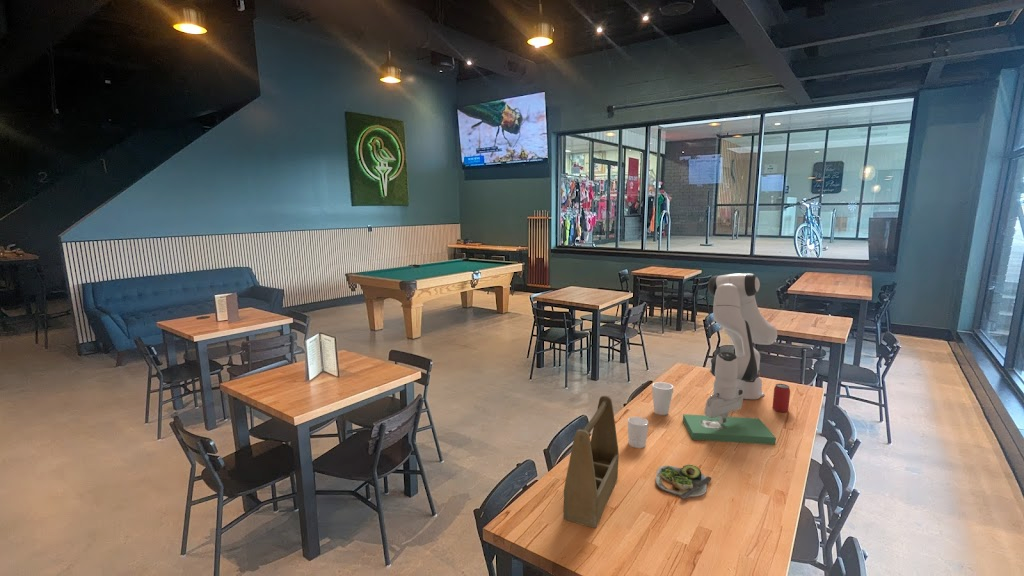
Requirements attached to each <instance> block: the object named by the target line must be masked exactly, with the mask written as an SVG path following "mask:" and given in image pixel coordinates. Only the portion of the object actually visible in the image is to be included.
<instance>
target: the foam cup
mask: <svg viewBox="0 0 1024 576" xmlns="http://www.w3.org/2000/svg"><path fill="white" fill-rule="evenodd" d="M651 386H652V387H651V392H652V400H653V401H652V402H653V411H654V413H655V414H657V415H660V416H666V415H669V413H670V407H671V402H672V397H673V393H674V385H673V384H671V383H669V382H665V381H657V382H653V383H652V385H651Z"/></svg>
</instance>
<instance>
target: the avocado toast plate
mask: <svg viewBox="0 0 1024 576" xmlns="http://www.w3.org/2000/svg"><path fill="white" fill-rule="evenodd" d="M663 480H664V481H666V482H668V483H671V484H672V486H673V488H674V489H672V488H668V487H666V486H665V485H664V483H663ZM710 481H712V478H711V476H705V475H704V474H703V473H702V472H701V469H700V468H699V467H698V466H697V465H694V464H685V465H683V466H682V467H678V466H673V465H663V466H660V467H658V469H657V471H656V476H655V484H656V486H657V487H658V488H659V489H661V490H662V491H663V492H665V493H667V494H669V495H673V496H678V497H679V498H680V499H682V500H685V499H688V498H697V497H698V498H699V497H701V496H704V495H705V494H706V492H707V484H708V483H710Z"/></svg>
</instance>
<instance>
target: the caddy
mask: <svg viewBox="0 0 1024 576" xmlns="http://www.w3.org/2000/svg"><path fill="white" fill-rule="evenodd" d="M591 432H592V433H591ZM590 433H591V436H590ZM590 437H591V438H590ZM618 443H619V442H618V438H617V428H616V421H615V414H614V406H613V399H612V398H611V397H610V396H609V395H601V396H600V398H599V401H598V404H597V409H596V411H595V413H594V415H593V416H592V418H590V420H589V421H588V423H587V424H586V426H585V427H584V429H581V428H580V429H577V430H576V432H575V434H574V437H573V442H572V446H571V447H572V448H571V450H570V458H569V463H568V466H567V467H568V468H567V472H566V476H565V477H566V478H565V483H564V489H563V517H562V518H563V520H565V521H568V522H572V523H576V524H579V525H582V526H586V527H590V528H593V529H596V528H597V527H598V525H599V522H600V520H601V517H602V515H603V512H604V510H605V508H606V505H607V503H608V501H609V499H610V496H611V494H612V493H613V490H614V487H615V485H616V482H617V481H618V476H619V457H620V456H619V446H618Z"/></svg>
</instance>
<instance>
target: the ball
mask: <svg viewBox="0 0 1024 576" xmlns="http://www.w3.org/2000/svg"><path fill="white" fill-rule="evenodd" d="M709 427H719V425H718V424H717V423H716V422H711V423H710V424H709Z"/></svg>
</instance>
